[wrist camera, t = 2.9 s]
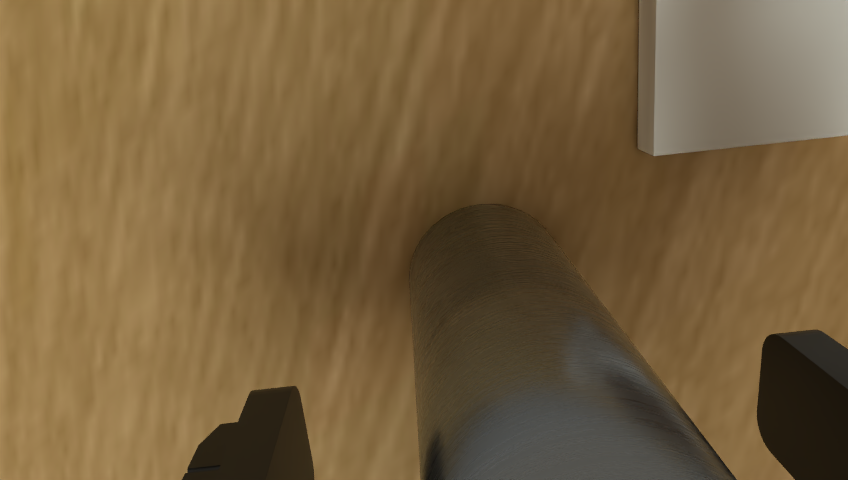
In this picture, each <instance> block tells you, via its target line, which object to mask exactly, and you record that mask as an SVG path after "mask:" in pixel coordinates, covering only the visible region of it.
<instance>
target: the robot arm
mask: <svg viewBox="0 0 848 480" xmlns="http://www.w3.org/2000/svg"><path fill="white" fill-rule="evenodd" d="M757 421H758V426H759V430H760V433H761V436H762V439H763V441H764V443H765V445H766V446H767V448H768V449H769V451H770V452H771V453H772V454H773V455H774V457H775V458H776V459H777V460H778V461H779V462H780V463H781V464H782V465H783V467H784V468H785V469H786V470H787V471H788V472H789V473H790V474H791V475H792V477H793V478H794V479H795V480H848V349H846V348H845V347H844V346H842V345H841V344H839V343H838V342H836V341H835V340H834V339H832V338H831V337H829V336H828V335H826V334H825V333H823V332H822V331H819V330H806V331H797V332H788V333H779V334H772V335H769V336H768V337H767V338H766V339H765V341H764V344H763V348H762V359H761V371H760V382H759V394H758V406H757ZM182 480H314V469H313V461H312V456H311V451H310V445H309V440H308V435H307V429H306V424H305V419H304V413H303V408H302V403H301V398H300V394H299V391H298V389H297V387H296V386H289V387H280V388H271V389H262V390H253V391H251V392H250V394H249V396H248V398H247V401H246V403H245V406H244V408H243V411H242V413H241V416H240V418H239V421H238V422H235V423H226V424H220V425H219V426H218V427H217V428H216V429H215V430H214V431H213V432H212V433H211V434H210V435H209V436H208V437H207V438H206V439H205V440H204V441H203V442H202V443H200V444H199V445H198V448H197V450H196V452H195V454H194V456H193V458H192V460H191V462H190V464H189V466H188V473H185V475H184V477H183V479H182Z"/></svg>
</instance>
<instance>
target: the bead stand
mask: <svg viewBox="0 0 848 480" xmlns="http://www.w3.org/2000/svg"><path fill="white" fill-rule="evenodd" d="M846 135H848V0H639V66H638V149H640V150H642V151H644V152H646V153H648V154H650V155H652V156H659V155H669V154H678V153H687V152H697V151H706V150H715V149H725V148H734V147H743V146H753V145H762V144H771V143H781V142H790V141H799V140H809V139H818V138H827V137H837V136H846Z"/></svg>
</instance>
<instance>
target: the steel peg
mask: <svg viewBox="0 0 848 480" xmlns="http://www.w3.org/2000/svg"><path fill="white" fill-rule="evenodd" d="M409 279H410V299H411V316H412V334H413V352H414V370H415V388H416V405H417V423H418V441H419V459H420V477H421V480H737V479H736V478H735V477H734V476H733V474H732V473H731V472H730V470H729V469H728V468H727V466H726V465H725V464H724V462H723V461H722V460H721V458H720V457H719V456H718V455H717V453H716V452H715V451H714V449H713V448H712V447H711V445H710V444H709V443H708V441H707V440H706V439H705V438H704V436H703V435H702V434H701V432H700V431H699V430H698V428H697V427H696V426H695V424H694V423H693V422H692V421H691V419H690V418H689V417H688V415H687V414H686V413H685V411H684V410H683V409H682V407H681V406H680V405H679V403H678V402H677V401H676V400H675V398H674V397H673V396H672V394H671V393H670V392H669V390H668V389H667V388H666V386H665V385H664V384H663V383H662V381H661V380H660V379H659V377H658V376H657V375H656V373H655V372H654V371H653V369H652V368H651V367H650V365H649V364H648V363H647V362H646V360H645V359H644V358H643V356H642V355H641V354H640V352H639V351H638V350H637V348H636V347H635V346H634V345H633V343H632V342H631V341H630V339H629V338H628V337H627V335H626V334H625V333H624V331H623V330H622V329H621V328H620V326H619V325H618V324H617V322H616V321H615V320H614V318H613V317H612V316H611V314H610V313H609V312H608V310H607V309H606V308H605V307H604V305H603V304H602V303H601V301H600V300H599V299H598V297H597V296H596V295H595V293H594V292H593V291H592V290H591V288H590V287H589V286H588V284H587V283H586V282H585V280H584V279H583V278H582V276H581V275H580V274H579V272H578V271H577V270H576V269H575V267H574V266H573V265H572V263H571V262H570V261H569V259H568V258H567V257H566V255H565V254H564V253H563V252H562V250H561V249H560V248H559V246H558V245H557V244H556V242H555V241H554V240H553V238H552V237H551V236H550V235H549V233H548V232H547V231H546V229H545V228H544V227H543V226H542V225H541V224H540V223H539V222H538V221H537V220H535V219H534V218H532V217H531V216H530V215H528V214H526V213H524V212H522V211H520V210H518V209H515V208H512V207H508V206H504V205H497V204H480V205H474V206H469V207H466V208H462V209H459V210H457V211H455V212H453V213H450V214H449V215H447V216H445V217H444V218H442V219H441V220H440V221H438V222H437V223H436V224H435V225H433V226H432V227H431V228H430V230H429V231H428V232H427V233H426V234H425V235H424V237H423V238H422V239H421V241H420V243H419V244H418V246H417V248H416V250H415V253H414V255H413V258H412V262H411V266H410V275H409Z"/></svg>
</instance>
